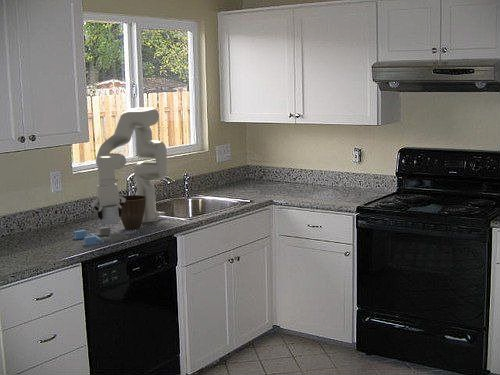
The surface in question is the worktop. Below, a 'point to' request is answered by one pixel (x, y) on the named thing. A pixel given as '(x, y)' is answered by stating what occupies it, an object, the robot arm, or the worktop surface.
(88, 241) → the blue duct
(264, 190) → the worktop surface
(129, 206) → the plant pot
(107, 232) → the grey duct
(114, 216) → the medicine box
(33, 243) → the worktop surface
